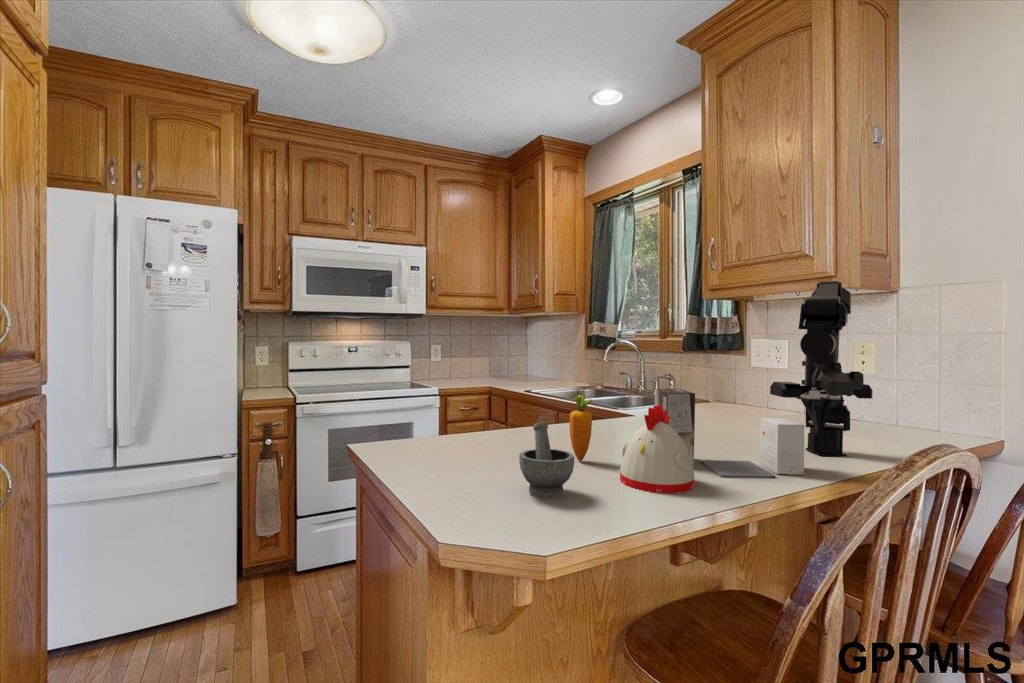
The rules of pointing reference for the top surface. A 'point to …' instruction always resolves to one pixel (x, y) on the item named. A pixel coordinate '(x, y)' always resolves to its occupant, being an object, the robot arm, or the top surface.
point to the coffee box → (679, 413)
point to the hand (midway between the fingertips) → (819, 430)
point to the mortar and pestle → (545, 466)
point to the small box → (782, 446)
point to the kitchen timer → (657, 457)
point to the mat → (736, 468)
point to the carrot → (580, 428)
